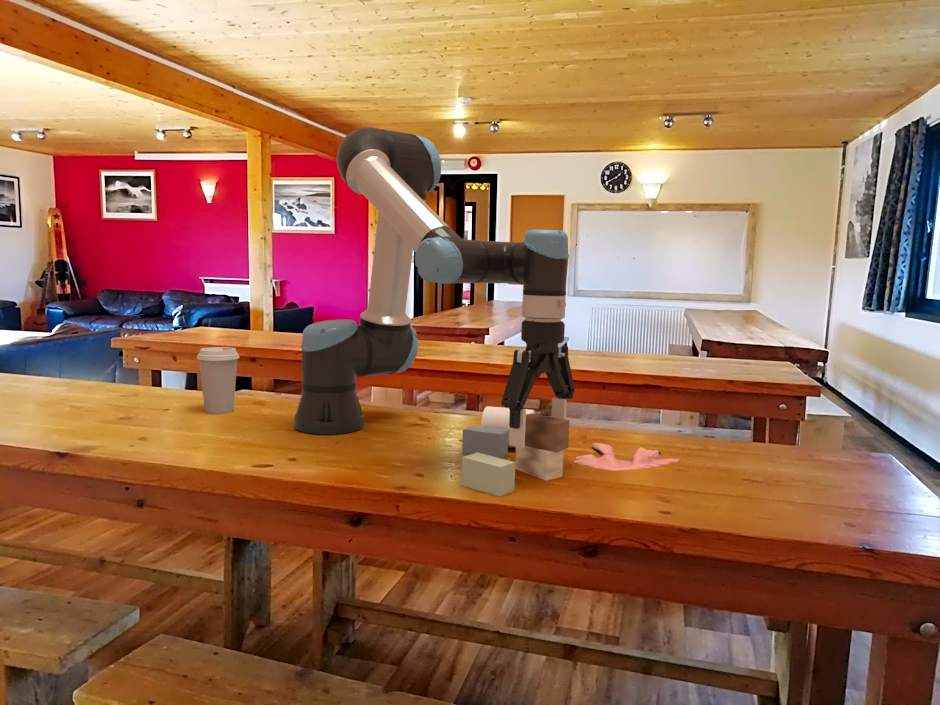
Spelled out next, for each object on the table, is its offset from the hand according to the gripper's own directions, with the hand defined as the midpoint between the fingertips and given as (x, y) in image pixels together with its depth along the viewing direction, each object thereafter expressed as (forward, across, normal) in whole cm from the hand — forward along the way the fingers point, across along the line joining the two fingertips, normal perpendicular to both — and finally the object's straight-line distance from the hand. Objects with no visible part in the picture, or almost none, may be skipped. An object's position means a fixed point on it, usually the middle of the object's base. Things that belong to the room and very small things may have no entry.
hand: (538, 439), depth 121 cm
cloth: (+7, +21, -7) cm, 23 cm away
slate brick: (+6, +3, +14) cm, 16 cm away
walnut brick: (+1, 0, -1) cm, 1 cm away
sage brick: (+6, -13, +1) cm, 14 cm away
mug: (+6, +12, +15) cm, 20 cm away
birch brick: (+6, 0, 0) cm, 6 cm away
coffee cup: (+6, -14, +82) cm, 83 cm away
